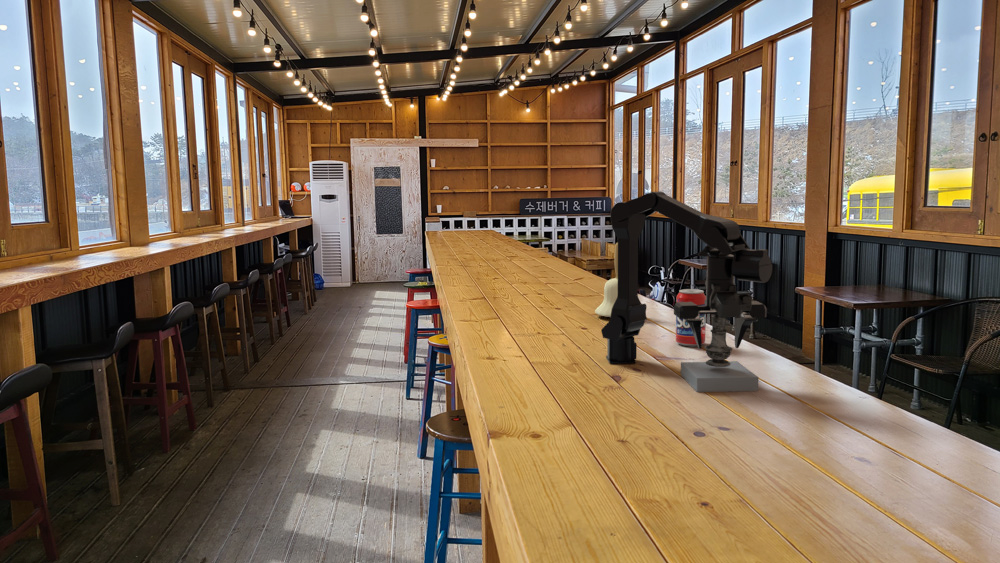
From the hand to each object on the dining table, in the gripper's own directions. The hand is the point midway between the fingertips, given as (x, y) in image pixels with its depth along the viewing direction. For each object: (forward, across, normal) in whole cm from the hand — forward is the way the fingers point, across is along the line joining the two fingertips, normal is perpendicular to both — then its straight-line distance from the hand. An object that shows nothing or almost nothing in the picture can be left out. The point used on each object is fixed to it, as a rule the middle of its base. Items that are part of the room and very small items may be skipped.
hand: (718, 348), depth 148 cm
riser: (+8, 0, 0) cm, 8 cm away
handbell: (+8, -9, +76) cm, 77 cm away
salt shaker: (+4, 0, 0) cm, 4 cm away
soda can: (+8, +4, +36) cm, 37 cm away
